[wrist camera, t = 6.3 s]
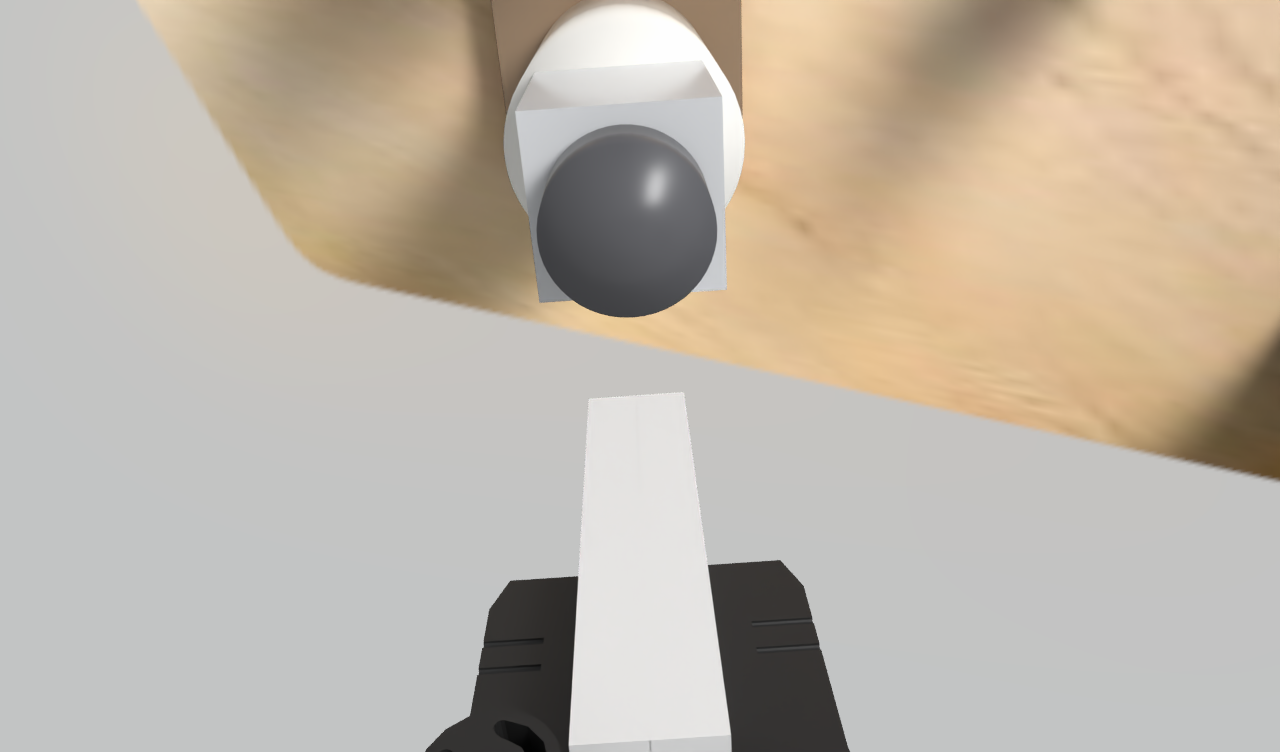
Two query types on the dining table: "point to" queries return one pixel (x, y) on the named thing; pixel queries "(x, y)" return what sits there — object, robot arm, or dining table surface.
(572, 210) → the plunger
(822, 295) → the dining table surface
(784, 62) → the dining table surface
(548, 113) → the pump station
